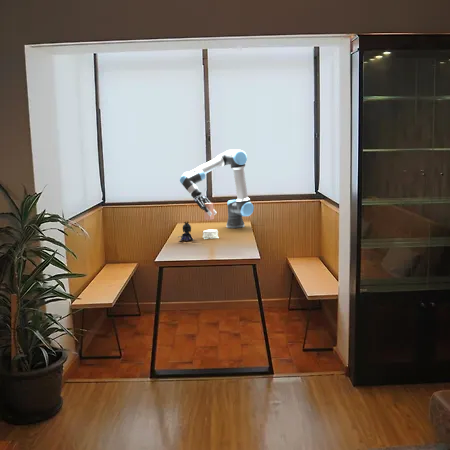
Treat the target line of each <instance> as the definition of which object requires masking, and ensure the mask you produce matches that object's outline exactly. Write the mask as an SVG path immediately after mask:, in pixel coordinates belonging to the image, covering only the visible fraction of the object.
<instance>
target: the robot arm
mask: <svg viewBox="0 0 450 450" xmlns="http://www.w3.org/2000/svg"><path fill="white" fill-rule="evenodd" d="M247 161H248V156H247V154H246V152H245V151H244V150H241V149H228V150H226V151H224V152H222V153H220V154H218V155H217V156H216V157H215V158H213V159H211V160H209V161H207V162H206V163H203V164H200V165H199V166H197V167H196V168H194V169H192V170H190V171H185V172H183V174H182V175H181V177H180V178H179V182H180V184H181V185H182V186H183V188H185V190H186V191H187V192H188V194H189V195H190V196H191V197H192V198H193V201H194V202H195V203H196V205H197V206H198V207H199V208H200V209H201V210H202V211H204V210H205V211H206V212H207V214H208V215H209V216H211V215H212V213H211V212H210V210H209V209H208V208H207V207H206V206H205V205H204V204H205V203H212V201H210V200H209V198H208V197H207V196H206V195H203V194H202V191H201V190H200V189H199V187H198V186H197V185H196V184H198V183H201V182H202V181H204V180H206V174H208V173H209V172H210V173H211V171H214V170H216V169H218V168H220V167H224V166H225V167H226V166H227V165H230V168H231V169H232V171H233V178H234V183H235V184H234V185H235V191H236V197H237V198H236V199H230V200H228V201H227V216H228V217H227V220H226V221H227V222H226V228H228V229H240V228H245V222H244V220H243V217H250V216H251V215H252V214H253V212H254V209H255V207H254V204H253V203H252V202H251V198H249V197H248V189H247V182H246V181H247V180H246V174H245V167H246V163H247ZM216 215H217V211H216V209H214V216H216Z"/></svg>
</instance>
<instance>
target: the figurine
mask: <svg viewBox="0 0 450 450" xmlns="http://www.w3.org/2000/svg"><path fill="white" fill-rule="evenodd" d="M183 223H184V224H183V225H182V231H183V233H182V235H181V236H177V238H180V240H179V243H181V242H182V241H185V242H186V241H187V242H189V241H191V240H192V241H194V239H193V237H192V235H191V232H192V226H191V224H190V222H189V221H185V222H183Z"/></svg>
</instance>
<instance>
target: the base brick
mask: <svg viewBox="0 0 450 450" xmlns="http://www.w3.org/2000/svg"><path fill="white" fill-rule="evenodd" d="M215 237H219V231H218V229H206V230H203V231H202V238H203V239H204V238H212V239H216V238H215Z"/></svg>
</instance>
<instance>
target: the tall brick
mask: <svg viewBox="0 0 450 450" xmlns="http://www.w3.org/2000/svg"><path fill="white" fill-rule="evenodd" d="M204 205H205V206H206V207H207V208H208V209H209V210H210V212H211V213H212V215H211V216H209V215H208V214H207V212H206V211H205V210H203V213H204V220H206V221H212V220H215V215H214V210H215V209H214V208H215V207H214V202H211V203H205V204H204Z"/></svg>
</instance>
